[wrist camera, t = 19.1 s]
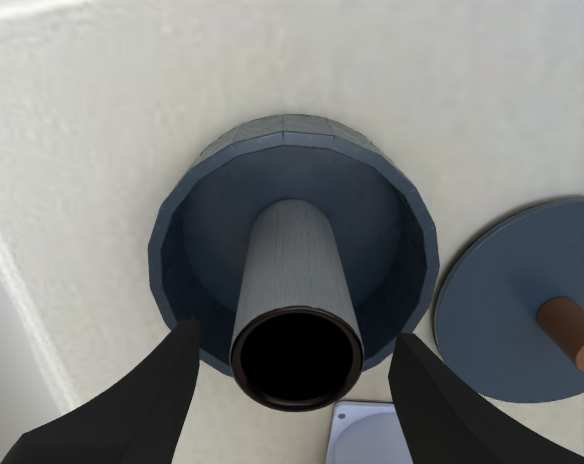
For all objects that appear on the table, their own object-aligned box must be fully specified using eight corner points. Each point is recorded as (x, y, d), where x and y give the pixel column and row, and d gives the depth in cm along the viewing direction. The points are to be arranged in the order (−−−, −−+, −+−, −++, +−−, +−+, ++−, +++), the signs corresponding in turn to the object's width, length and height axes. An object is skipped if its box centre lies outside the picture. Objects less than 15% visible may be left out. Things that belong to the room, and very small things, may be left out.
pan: (386, 335, 27) (407, 394, 22) (176, 323, 26) (154, 381, 22) (431, 125, 22) (471, 146, 17) (171, 102, 21) (140, 118, 17)
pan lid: (611, 396, 29) (670, 459, 25) (410, 385, 29) (433, 448, 24) (709, 204, 24) (807, 240, 19) (462, 184, 23) (505, 217, 19)
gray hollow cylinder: (234, 244, 24) (202, 376, 14) (282, 181, 22) (282, 281, 13) (299, 286, 25) (309, 432, 15) (349, 228, 23) (393, 351, 14)
